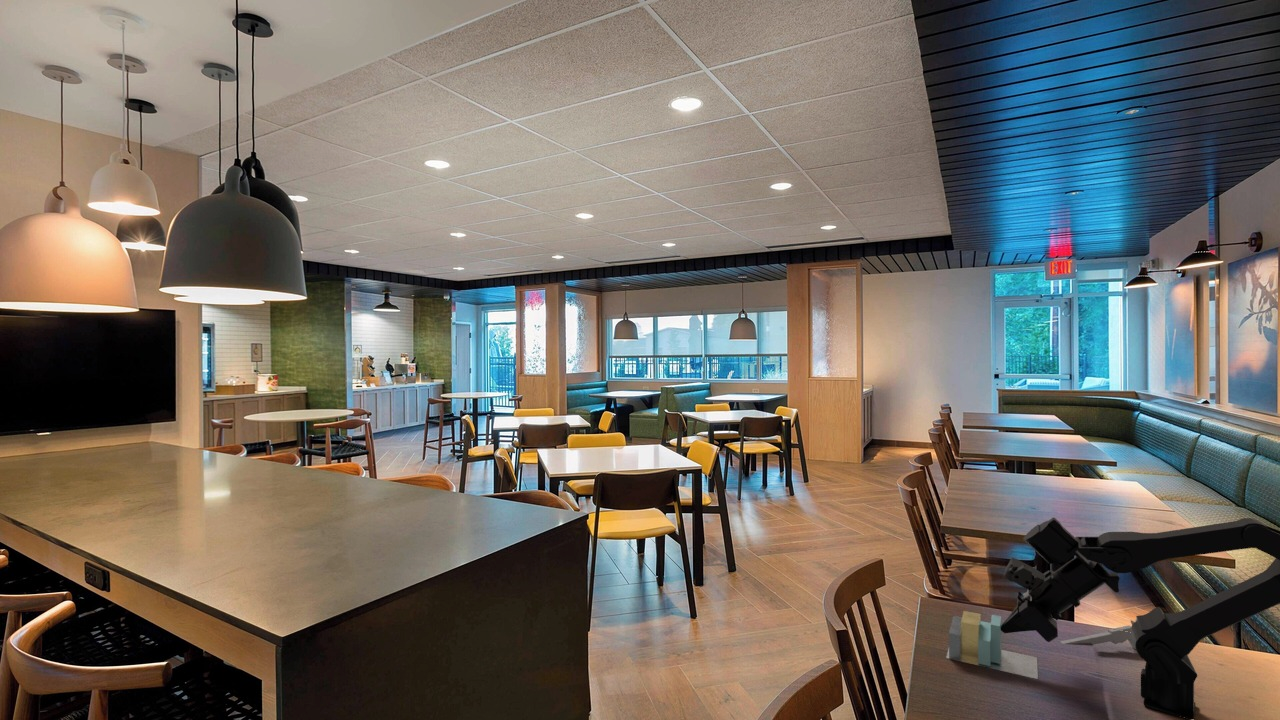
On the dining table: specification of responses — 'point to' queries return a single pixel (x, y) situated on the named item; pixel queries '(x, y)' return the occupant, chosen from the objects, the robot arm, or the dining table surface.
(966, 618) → the brass block
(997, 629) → the block
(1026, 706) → the dining table surface
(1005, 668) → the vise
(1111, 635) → the grey long thin bar
